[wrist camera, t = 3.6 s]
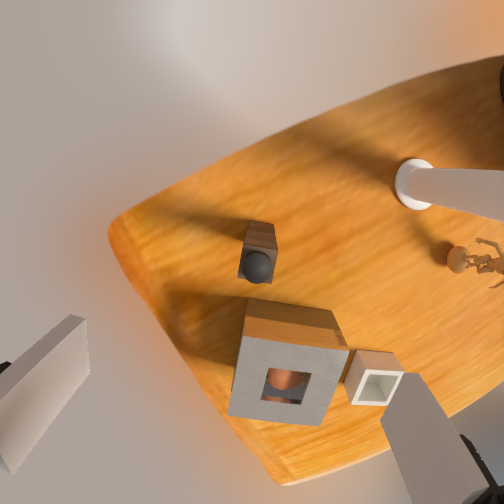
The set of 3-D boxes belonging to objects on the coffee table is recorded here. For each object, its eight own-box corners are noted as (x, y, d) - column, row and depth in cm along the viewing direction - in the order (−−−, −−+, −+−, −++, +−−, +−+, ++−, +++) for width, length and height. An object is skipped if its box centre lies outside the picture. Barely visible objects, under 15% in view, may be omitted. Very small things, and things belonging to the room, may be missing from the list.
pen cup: (356, 349, 45) (365, 369, 40) (393, 352, 45) (405, 371, 40) (343, 383, 47) (350, 404, 41) (379, 385, 47) (388, 405, 41)
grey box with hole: (247, 297, 44) (242, 335, 33) (331, 311, 44) (349, 350, 33) (234, 367, 46) (227, 415, 36) (310, 378, 46) (319, 426, 36)
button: (271, 337, 42) (271, 362, 36) (300, 342, 42) (304, 366, 36) (265, 361, 43) (265, 387, 37) (293, 365, 43) (296, 391, 37)
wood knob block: (250, 220, 41) (241, 248, 25) (273, 224, 41) (278, 255, 26) (246, 242, 42) (235, 283, 26) (269, 246, 42) (271, 289, 26)
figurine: (433, 240, 41) (480, 262, 29) (461, 219, 40) (511, 234, 28) (451, 284, 42) (494, 315, 30) (477, 263, 41) (523, 288, 29)
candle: (392, 158, 38) (524, 152, 14) (435, 159, 38) (571, 161, 14) (395, 210, 40) (521, 256, 16) (437, 208, 39) (568, 249, 15)
